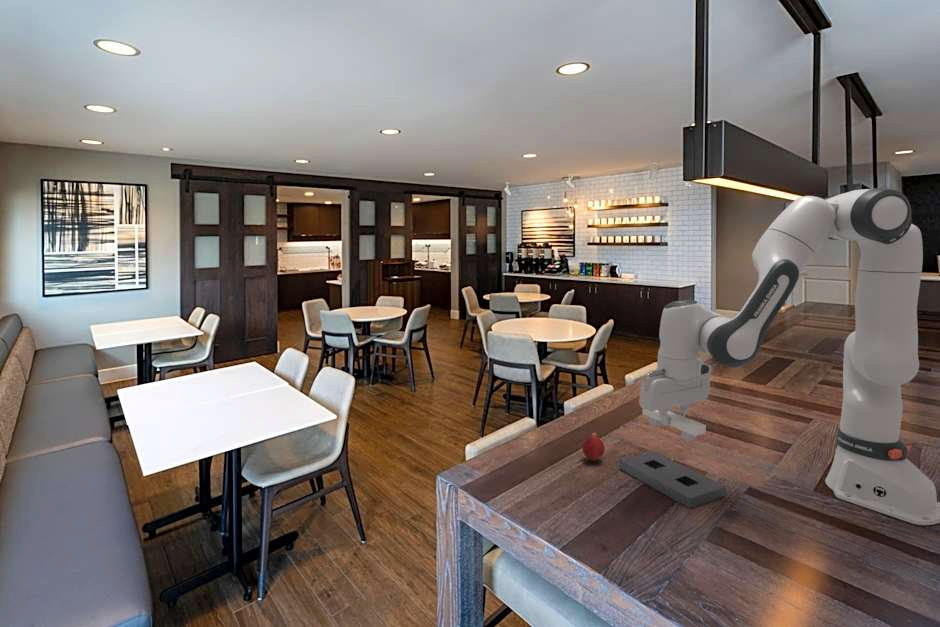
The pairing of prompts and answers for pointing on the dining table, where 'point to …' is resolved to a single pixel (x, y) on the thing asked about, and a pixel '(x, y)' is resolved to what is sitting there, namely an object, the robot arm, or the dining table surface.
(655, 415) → the strip
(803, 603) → the dining table surface
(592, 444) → the onion
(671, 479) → the plate
